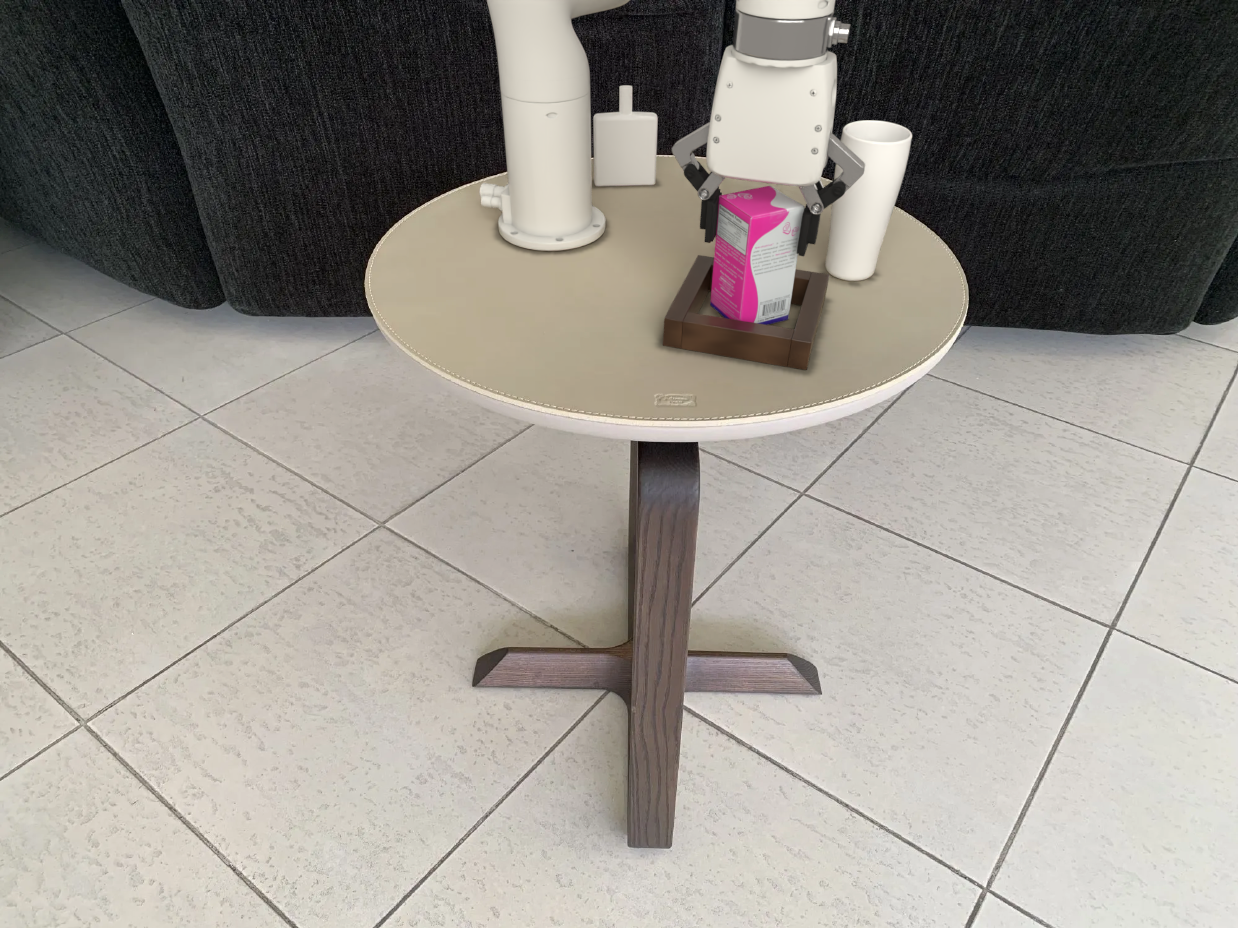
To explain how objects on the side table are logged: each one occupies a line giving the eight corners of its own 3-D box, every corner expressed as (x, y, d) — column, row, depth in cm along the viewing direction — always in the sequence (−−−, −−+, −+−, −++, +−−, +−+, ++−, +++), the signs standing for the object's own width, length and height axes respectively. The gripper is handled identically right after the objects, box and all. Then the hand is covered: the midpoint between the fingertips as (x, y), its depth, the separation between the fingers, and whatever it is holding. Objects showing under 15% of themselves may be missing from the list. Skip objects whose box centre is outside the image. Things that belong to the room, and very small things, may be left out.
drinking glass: (835, 252, 94) (861, 115, 85) (891, 270, 91) (925, 129, 81) (806, 273, 90) (829, 132, 81) (863, 293, 87) (894, 148, 77)
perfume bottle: (654, 179, 110) (657, 83, 102) (656, 185, 109) (659, 88, 101) (593, 181, 110) (592, 85, 102) (594, 187, 108) (593, 89, 100)
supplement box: (756, 293, 85) (772, 183, 77) (789, 321, 81) (809, 207, 73) (706, 304, 83) (718, 192, 75) (738, 333, 79) (753, 218, 71)
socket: (662, 345, 79) (663, 318, 77) (696, 280, 89) (698, 254, 87) (806, 370, 76) (811, 342, 74) (824, 300, 86) (829, 274, 84)
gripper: (897, 33, 66) (856, 239, 78) (685, 16, 70) (675, 215, 82) (891, 57, 61) (847, 275, 72) (662, 38, 65) (654, 247, 76)
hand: (756, 242), depth 77 cm, fingers closed on supplement box, 8 cm apart
